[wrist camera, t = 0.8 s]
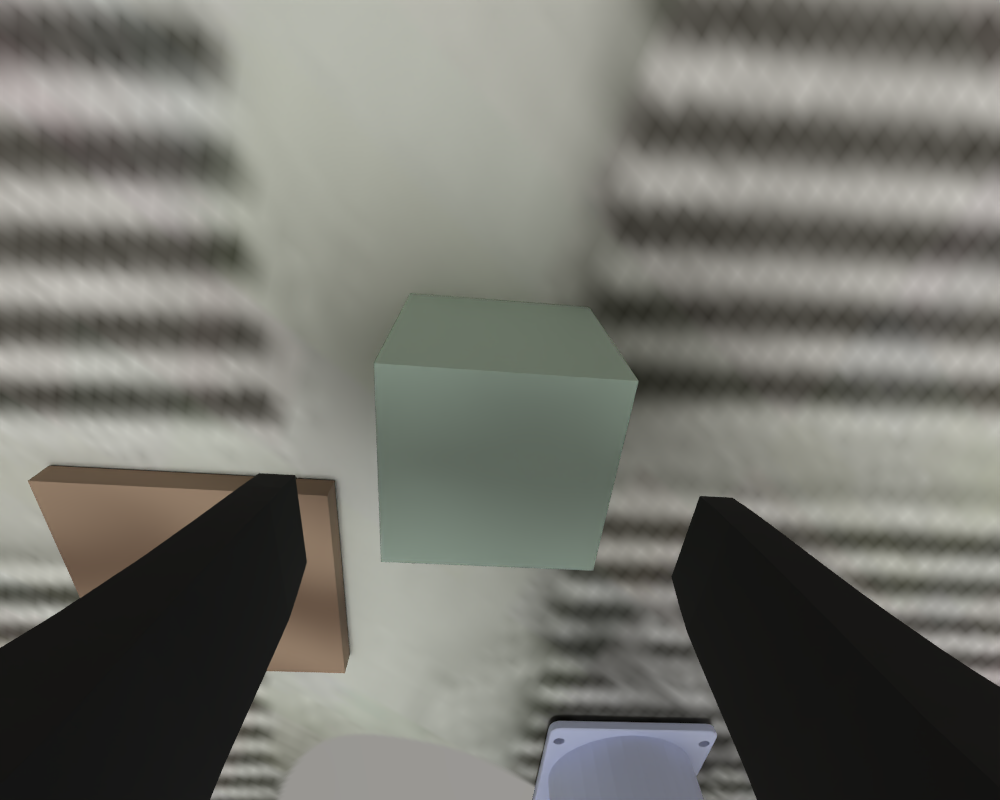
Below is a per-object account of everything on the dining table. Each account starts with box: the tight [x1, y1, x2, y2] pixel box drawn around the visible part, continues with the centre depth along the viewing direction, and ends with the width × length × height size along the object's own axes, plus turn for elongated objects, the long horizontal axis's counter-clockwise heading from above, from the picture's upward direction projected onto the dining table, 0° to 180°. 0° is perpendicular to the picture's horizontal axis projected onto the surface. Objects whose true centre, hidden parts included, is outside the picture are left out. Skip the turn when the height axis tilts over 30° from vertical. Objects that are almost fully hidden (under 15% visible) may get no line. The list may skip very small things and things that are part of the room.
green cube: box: [374, 293, 639, 570], centre depth 12 cm, size 5×5×5 cm
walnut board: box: [28, 466, 350, 673], centre depth 17 cm, size 9×9×1 cm
